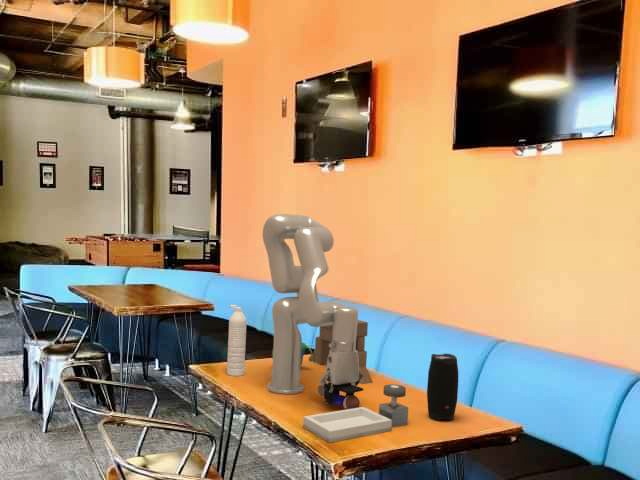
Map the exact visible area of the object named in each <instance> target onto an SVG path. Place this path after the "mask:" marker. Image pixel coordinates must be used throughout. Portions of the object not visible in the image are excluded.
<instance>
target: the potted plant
mask: <svg viewBox="0 0 640 480" xmlns="http://www.w3.org/2000/svg"><path fill="white" fill-rule="evenodd" d="M306 349H308V350H309V353H310V356H311V358H310V357H309V358H310V360H309V362H310V363H311V362H312V361H311V360H312V353H313V351H312V349H311V347H310V346H308V345H307V344H306V343H304V342H301V364H300V370H302V365H303V361H304V355H305V351H306ZM271 351H272V352H271V359H272V360H273V350H271Z"/></svg>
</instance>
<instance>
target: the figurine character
mask: <svg viewBox="0 0 640 480" xmlns="http://www.w3.org/2000/svg"><path fill="white" fill-rule="evenodd" d="M331 384H332V383H331ZM330 386H331V385H330ZM363 391H364V388H363V387H360V386H358V385H357V386H354V385H351V384H340V385H335V387H334V390H333V392H334V403H333V405H337V406H341V407H343V409H344V410H347V409H353V408H359V407H360V405H361V403H360V402H361V401H360V399H359V398H358V397H357V395H355V393H358V392H363ZM341 392H343V393H345V394H346V393H348V394H351V393H354V395H349V396H346V395H342V394H340V393H341ZM317 393H318V395H319V396H320V397H323V399H324V402H325V403H326V390H325V388H324V387H323V386H322V384H320V385H318V387H317Z"/></svg>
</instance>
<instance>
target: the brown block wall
mask: <svg viewBox="0 0 640 480" xmlns="http://www.w3.org/2000/svg"><path fill="white" fill-rule="evenodd" d="M368 327H369V322H367V321H365V320H360V319H358V323H357V336H356V350H357V351H358V357H359V372H360V373H361V374H362V375H363V377H362V379H361V380H360V381H359V384H361V385H364V384H365V385H366V384H373V383H374V381H373V380H372V377H371V376H370V375H371V374H370V373H369V371H368V368H367V357H368V356H367V355H368V354H367V353H368V352H367V350H366V349H365V345H366V337H367V336H368ZM332 333H333V325H331V326H321V327H319V336H316V337H315V341H314V351H312V360H311V362H312V361H313V362H312V363H315V362H316V363H315V364H317V363H318V364H317V365H319V364H320V365H319V366H326V365H325V364H327V359H328V355H329V351H330V350H331V348H330V347H329V344H330V343H332ZM310 358H311V355H310V356H309V357H308V359H309V360H308V361H310Z"/></svg>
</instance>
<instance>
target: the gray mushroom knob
mask: <svg viewBox="0 0 640 480" xmlns="http://www.w3.org/2000/svg"><path fill="white" fill-rule="evenodd" d="M406 389H407V387H406V386H404V385H399V384H393V383H391V384H386V385H383V393H382V394H383V395H384V396H386V397H389V398H390V399H391V401H390V402H391V407H393V408H394V407H397V403H398V398H404V397H405V396H406V393H407V390H406Z"/></svg>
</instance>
